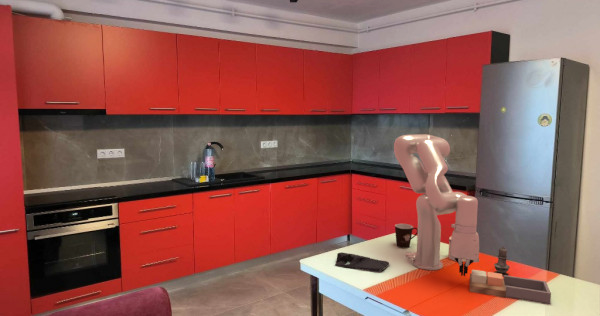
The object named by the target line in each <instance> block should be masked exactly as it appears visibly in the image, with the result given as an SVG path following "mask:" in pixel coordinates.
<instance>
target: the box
mask: <svg viewBox="0 0 600 316" xmlns="http://www.w3.org/2000/svg"><path fill="white" fill-rule="evenodd" d="M503 278H504V283H505V288H506V298H507V299H508V298H509V299H515V300H521V301H527V302H534V303H538V304H539V303H540V304H544V305H551V299H552V298H551V297H552V292H551V290H550V288H549V286H548V285H549V284H548V283H547V281H545V280H540V279H532V278H524V277H519V276H512V275H508V276H507V275H504V277H503Z"/></svg>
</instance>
